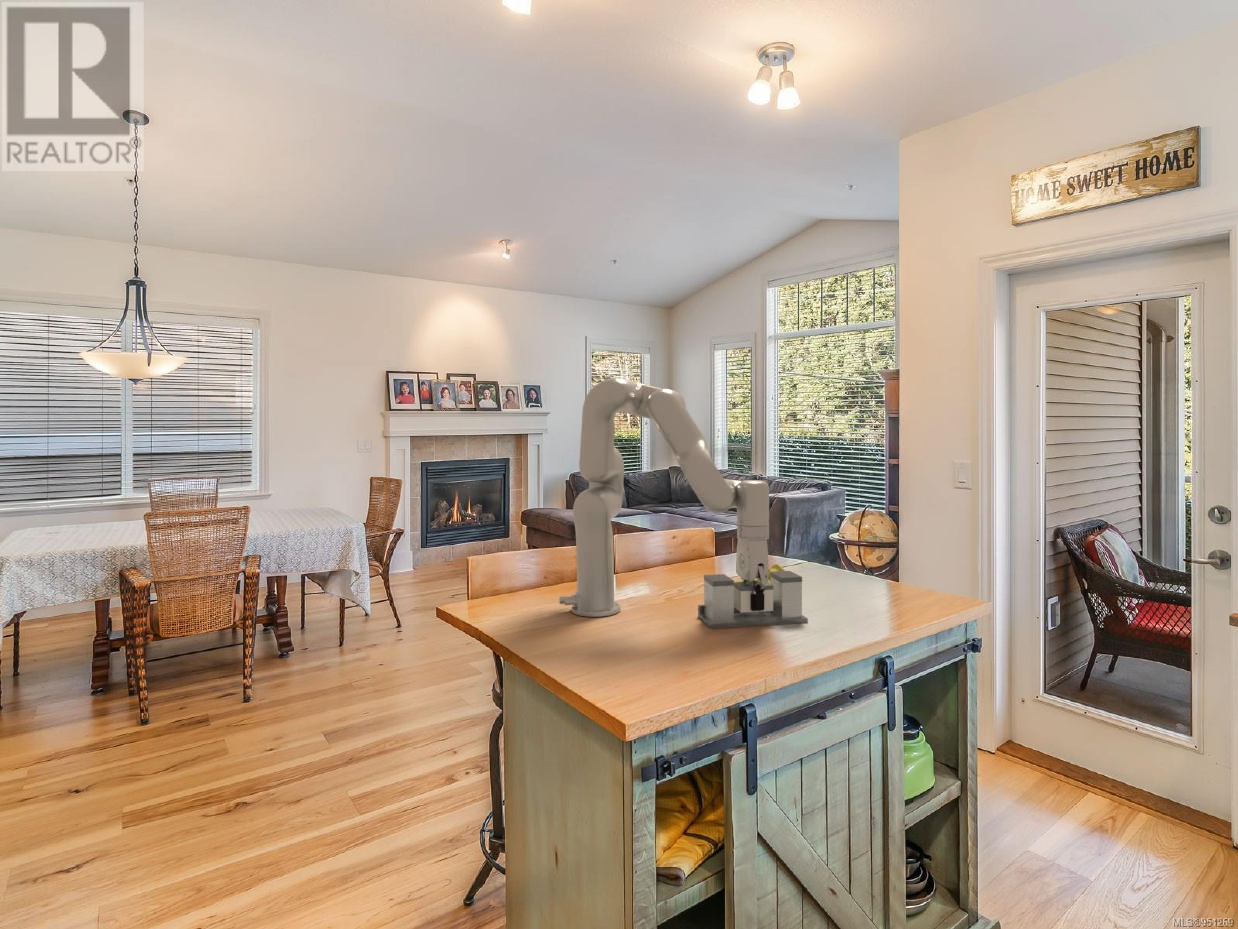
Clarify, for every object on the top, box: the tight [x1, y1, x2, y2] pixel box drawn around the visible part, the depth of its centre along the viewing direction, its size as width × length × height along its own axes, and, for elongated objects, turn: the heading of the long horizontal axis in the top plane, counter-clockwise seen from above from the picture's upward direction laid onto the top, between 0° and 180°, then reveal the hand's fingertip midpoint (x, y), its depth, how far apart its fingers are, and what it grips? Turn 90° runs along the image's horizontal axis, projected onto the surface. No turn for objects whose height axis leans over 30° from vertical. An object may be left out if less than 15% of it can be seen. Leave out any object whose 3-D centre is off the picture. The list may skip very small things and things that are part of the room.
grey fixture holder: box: [697, 570, 809, 630], centre depth 160 cm, size 24×10×11 cm, turn 99°
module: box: [734, 582, 773, 613], centre depth 159 cm, size 8×5×6 cm, turn 99°
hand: (753, 606), depth 159 cm, fingers closed on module, 5 cm apart
